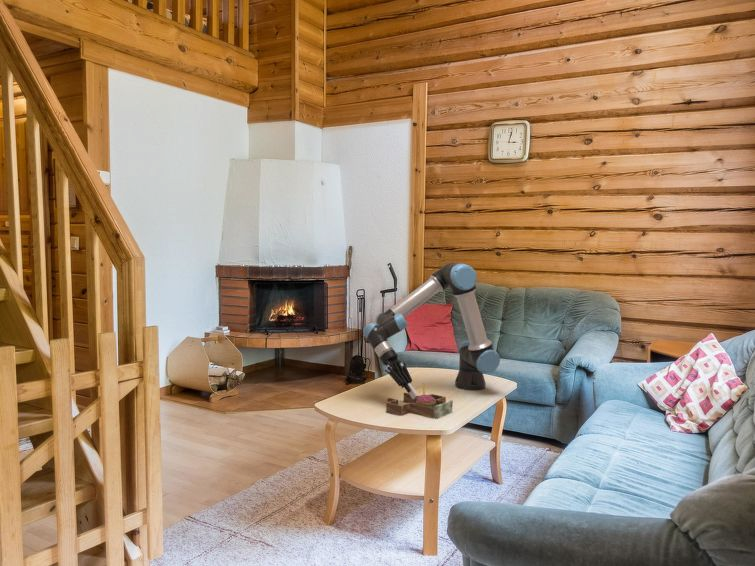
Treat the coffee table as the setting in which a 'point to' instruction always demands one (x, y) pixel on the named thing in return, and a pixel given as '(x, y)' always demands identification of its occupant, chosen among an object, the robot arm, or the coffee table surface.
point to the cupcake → (425, 400)
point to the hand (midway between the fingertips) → (415, 397)
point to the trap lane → (420, 407)
